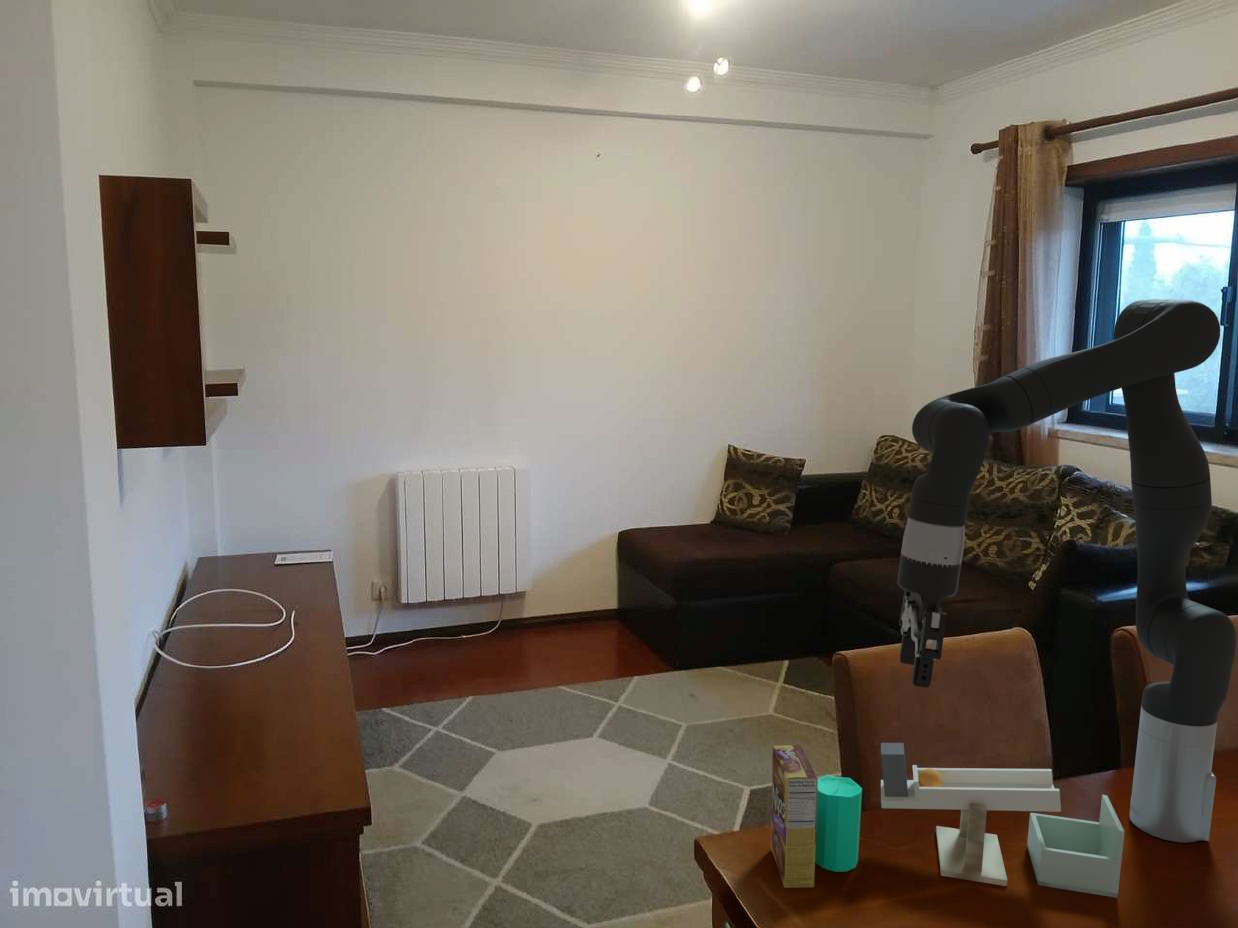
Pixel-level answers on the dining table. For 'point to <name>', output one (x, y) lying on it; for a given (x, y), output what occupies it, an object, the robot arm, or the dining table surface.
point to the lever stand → (971, 849)
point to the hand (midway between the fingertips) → (913, 674)
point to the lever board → (966, 787)
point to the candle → (837, 823)
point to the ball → (929, 778)
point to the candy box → (793, 816)
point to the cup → (1077, 851)
